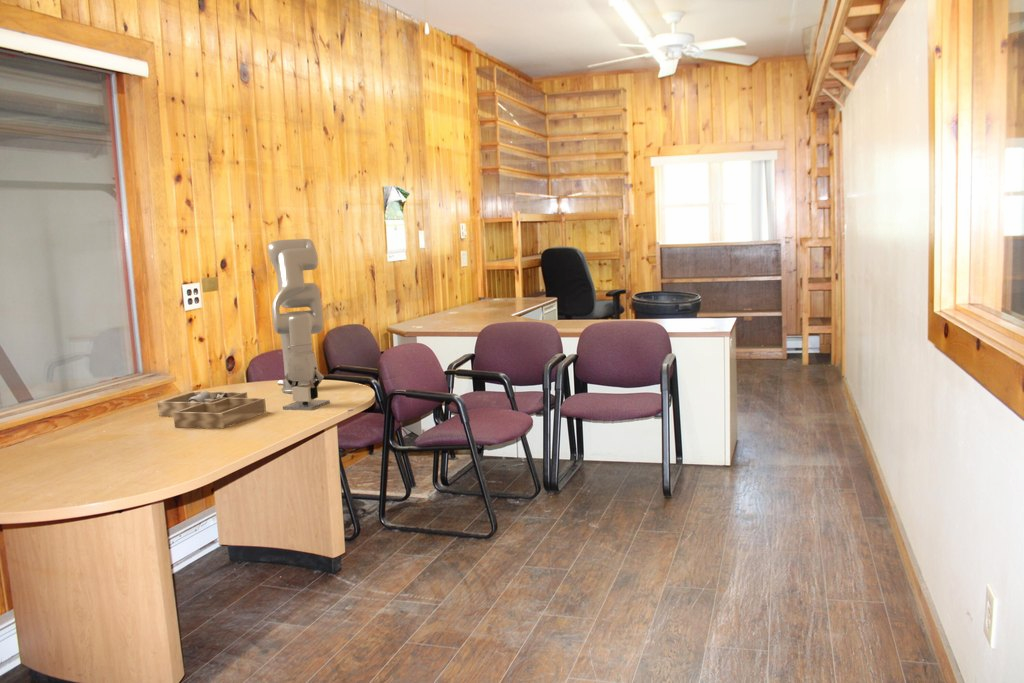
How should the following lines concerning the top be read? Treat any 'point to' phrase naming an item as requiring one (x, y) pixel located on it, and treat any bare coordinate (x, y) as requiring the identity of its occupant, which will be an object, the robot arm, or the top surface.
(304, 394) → the grey block
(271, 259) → the robot arm
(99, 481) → the top surface
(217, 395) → the clip-on lamp
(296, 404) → the plate
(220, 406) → the tray
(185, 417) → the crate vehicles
